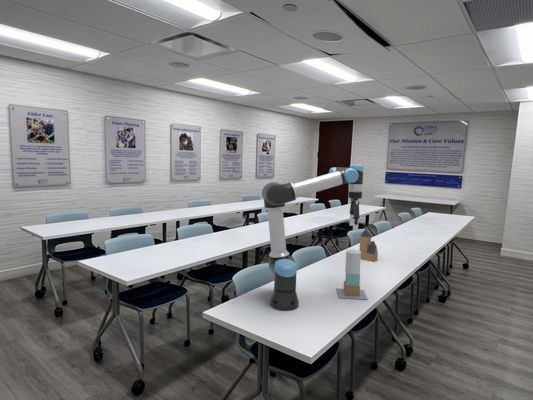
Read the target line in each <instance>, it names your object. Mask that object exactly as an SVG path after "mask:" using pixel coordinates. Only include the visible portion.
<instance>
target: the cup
mask: <svg viewBox="0 0 533 400" xmlns="http://www.w3.org/2000/svg"><path fill="white" fill-rule="evenodd" d="M361 261H362V259H361V252H360V251H359V250H357V249H347V250H346V252H345V268H344V269H345V271H344V272H345V274H346V273H349V274H359V273H360V274H361Z"/></svg>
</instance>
